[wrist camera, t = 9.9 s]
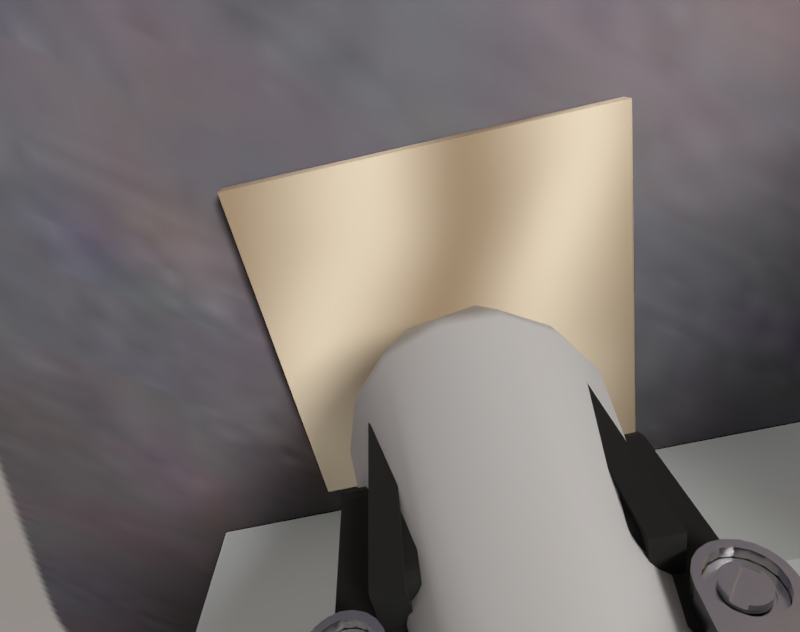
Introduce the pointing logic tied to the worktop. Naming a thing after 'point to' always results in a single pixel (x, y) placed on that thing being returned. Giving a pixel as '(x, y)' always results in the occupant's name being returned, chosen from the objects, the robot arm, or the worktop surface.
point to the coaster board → (443, 254)
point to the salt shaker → (507, 481)
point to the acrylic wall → (319, 535)
